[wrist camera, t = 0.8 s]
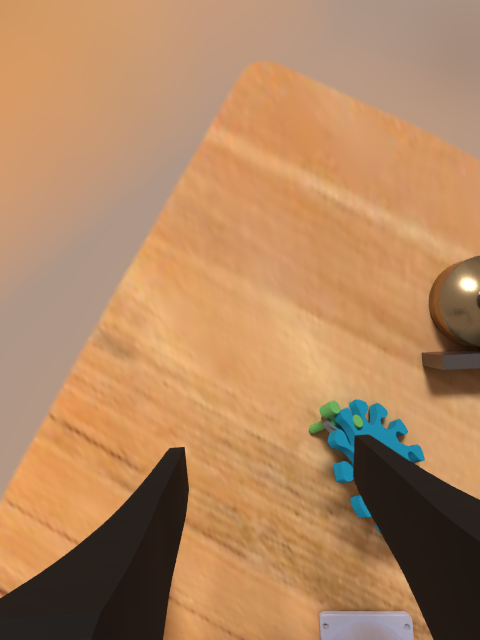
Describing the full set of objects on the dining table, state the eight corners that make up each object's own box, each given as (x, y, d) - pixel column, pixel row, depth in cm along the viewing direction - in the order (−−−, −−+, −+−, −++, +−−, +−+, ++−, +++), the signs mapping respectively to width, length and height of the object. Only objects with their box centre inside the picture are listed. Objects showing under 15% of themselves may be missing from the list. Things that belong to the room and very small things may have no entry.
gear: (452, 469, 25) (428, 583, 18) (396, 481, 29) (358, 576, 22) (360, 367, 27) (308, 433, 20) (320, 391, 31) (265, 452, 24)
